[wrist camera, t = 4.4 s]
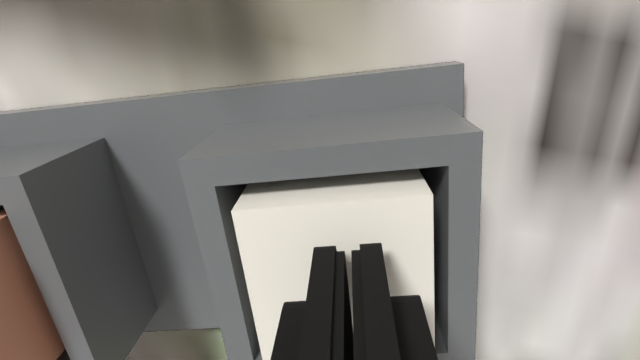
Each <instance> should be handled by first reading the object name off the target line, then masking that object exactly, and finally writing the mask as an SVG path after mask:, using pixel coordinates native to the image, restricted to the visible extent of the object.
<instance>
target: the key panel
mask: <svg viewBox="0 0 640 360" xmlns="http://www.w3.org/2000/svg"><path fill="white" fill-rule="evenodd" d="M463 103H464V63H460V62H456V61H454V62H445V63H436V64H427V65H418V66H409V67H400V68H391V69H382V70H373V71H364V72H355V73H346V74H337V75H328V76H319V77H309V78H300V79H291V80H282V81H273V82H264V83H255V84H246V85H237V86H228V87H219V88H210V89H201V90H192V91H183V92H174V93H165V94H156V95H147V96H138V97H129V98H120V99H111V100H102V101H93V102H84V103H75V104H66V105H57V106H48V107H39V108H30V109H21V110H12V111H3V112H0V210H1V209H5V211H6V214H7V216H8V218H9V220H10V223H11V225H12V227H13V230H14V232H15V234H16V236H17V239H18V241H19V243H20V246H21V248H22V250H23V252H24V255H25V257H26V259H27V262H28V264H29V266H30V269H31V271H32V273H33V275H34V278H35V280H36V282H37V285H38V287H39V289H40V291H41V294H42V296H43V298H44V301H45V303H46V305H47V307H48V310H49V312H50V314H51V317H52V319H53V321H54V324H55V326H56V328H57V330H58V333H59V335H60V337H61V340H62V342H63V344H64V346H65V350H64V351H63V352H62V353H61V355H60V356H59V357H58V358H57V359H56V360H125V358H126V357H127V355H128V354H129V352H130V350H131V349H132V347H133V346H134V344H135V343H136V341H137V340H138V338H139V337H140V335H141V334H142V332H151V331H169V330H187V329H205V328H220V329H221V333H222V337H223V341H224V345H225V349H226V353H227V357H228V360H262V355H261V350H260V346H259V341H258V336H257V331H256V327H255V322H254V317H253V313H252V308H251V303H250V299H249V294H248V289H247V284H246V280H245V275H244V270H243V266H242V261H241V256H240V251H239V247H238V242H237V237H236V233H235V228H234V223H233V218H232V214H231V211H232V209H233V207H234V206H235V204H236V202H237V201H238V199H239V197H240V196H241V194H242V193H243V191H244V189H245V188H246V186H247V184H248V183H259V182H271V181H282V180H293V179H305V178H316V177H327V176H339V175H350V174H361V173H372V172H384V171H395V170H406V169H419V171H420V172H421V174H422V176H423V178H424V179H425V181H426V183H427V185H428V186H429V188H430V190H431V192H432V193H433V221H434V311H435V350H436V354H437V357H438V360H475V344H476V316H477V288H478V259H479V231H480V203H481V175H482V147H483V131H482V130H481V129H479V128H478V127H476V126H475V125H473V124H472V123H471V122H469V121H468V120H466V119H465V118H463Z"/></svg>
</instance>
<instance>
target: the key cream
mask: <svg viewBox="0 0 640 360" xmlns="http://www.w3.org/2000/svg"><path fill="white" fill-rule="evenodd" d="M231 214H232V218H233V223H234V228H235V233H236V237H237V242H238V247H239V251H240V256H241V261H242V266H243V270H244V275H245V280H246V284H247V289H248V294H249V299H250V303H251V308H252V313H253V317H254V322H255V327H256V331H257V336H258V341H259V346H260V350H261V355H262V360H270V359H271V355H272V350H273V346H274V342H275V337H276V333H277V328H278V324H279V320H280V315H281V311H282V307H283V304H284V303H285V302H291V301H306V297H307V290H308V283H309V276H310V269H311V263H312V256H313V249H314V247H323V246H336V249H337V251H345V258H346V268H347V277H348V287H349V297H350V306H351V316H352V326H353V300H352V259H351V250H360V244H368V243H381V244H382V250H383V256H384V262H385V268H386V274H387V280H388V286H389V292H390V296H406V295H419V296H420V297H421V300H422V303H423V307H424V311H425V314H426V318H427V321H428V325H429V329H430V332H431V336H432V339H433V343H434V347H435V311H434V221H433V193H432V192H431V190H430V188H429V186H428V185H427V183H426V181H425V179H424V178H423V176H422V174H421V172H420V171H419V169H406V170H395V171H384V172H372V173H361V174H350V175H339V176H327V177H316V178H305V179H293V180H282V181H271V182H259V183H248V184H247V186H246V188H245V189H244V191H243V193H242V194H241V196H240V197H239V199H238V201H237V202H236V204H235V206H234V207H233V209H232V211H231Z"/></svg>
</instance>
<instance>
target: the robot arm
mask: <svg viewBox="0 0 640 360" xmlns="http://www.w3.org/2000/svg"><path fill="white" fill-rule="evenodd" d="M351 259H352V300H353V326H352V316H351V306H350V297H349V287H348V277H347V268H346V258H345V251H337V249H336V246H323V247H314V249H313V256H312V263H311V269H310V276H309V283H308V290H307V297H306V301H291V302H285V303H284V304H283V307H282V311H281V315H280V320H279V324H278V328H277V333H276V337H275V342H274V346H273V350H272V355H271V359H270V360H438V357H437V354H436V350H435V347H434V343H433V339H432V336H431V332H430V329H429V325H428V321H427V318H426V314H425V311H424V307H423V303H422V300H421V297H420V296H419V295H406V296H390V292H389V286H388V280H387V274H386V268H385V262H384V256H383V250H382V244H381V243H368V244H360V250H351Z"/></svg>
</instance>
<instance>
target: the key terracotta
mask: <svg viewBox="0 0 640 360" xmlns="http://www.w3.org/2000/svg"><path fill="white" fill-rule="evenodd" d="M64 350H65V346H64V344H63V342H62V340H61V337H60V335H59V333H58V330H57V328H56V326H55V324H54V321H53V319H52V317H51V314H50V312H49V310H48V307H47V305H46V303H45V301H44V298H43V296H42V294H41V291H40V289H39V287H38V285H37V282H36V280H35V278H34V275H33V273H32V271H31V269H30V266H29V264H28V262H27V259H26V257H25V255H24V252H23V250H22V248H21V246H20V243H19V241H18V239H17V236H16V234H15V232H14V230H13V227H12V225H11V223H10V220H9V218H8V216H7V214H6V211H5V209H1V210H0V360H56V359H57V358H58V357H59V356H60V355H61V353H62V352H63V351H64Z"/></svg>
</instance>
